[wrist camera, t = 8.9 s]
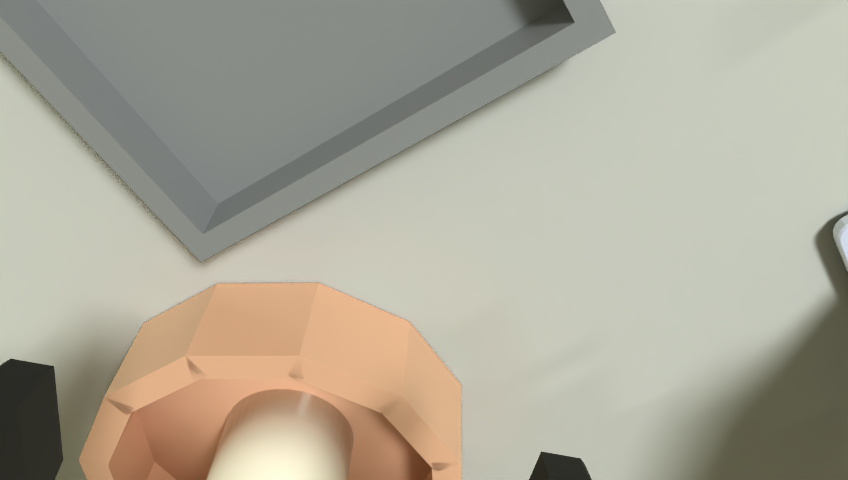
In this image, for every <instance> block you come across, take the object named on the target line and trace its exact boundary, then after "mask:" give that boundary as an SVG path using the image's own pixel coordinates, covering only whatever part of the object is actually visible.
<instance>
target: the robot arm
mask: <svg viewBox="0 0 848 480" xmlns="http://www.w3.org/2000/svg"><path fill="white" fill-rule="evenodd" d="M833 237H834V240H835V242H836V245H837V247H838V250H839V252H840V255H841V257H842V260H843V262H844V265H845V267H846V269H847V272H848V215H846V216H844V217H843V218H841V219H840V220H839V221H838V222H837V223H836V224H835V226H834V229H833ZM62 461H63V455H62V445H61V435H60V424H59V414H58V404H57V393H56V383H55V372H54V366H49V365H43V364H37V363H32V362H26V361H20V360H15V359H10V360H8V361H6V362H5V363H3V364H2V365H0V480H55V477H56V475H57V473H58V470H59V468H60V466H61V463H62ZM529 480H592V479H591V477H590V475H589V473H588V471H587V468H586V466H585V464H584V463H583V461H582V460H581V459H580V458H574V457H569V456H563V455H557V454H552V453H546V452H541V454H540V456H539V458H538V461H537V463H536V465H535V467H534V470H533V472H532V474H531V477H530V479H529Z"/></svg>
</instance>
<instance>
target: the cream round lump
mask: <svg viewBox="0 0 848 480" xmlns="http://www.w3.org/2000/svg"><path fill="white" fill-rule="evenodd" d="M353 440H354V437H353V431H352V428H351V426H350V424H349V422H348V420H347V419H346V417H345V416H344V415H343V414H342V413H341V412H340V411H339V410H338V409H337V408H336V407H335V406H333V405H332V404H330V403H329V402H327V401H326V400H324V399H322V398H320V397H317V396H315V395H312V394H309V393H306V392H302V391H297V390H290V389H271V390H265V391H260V392H257V393H253V394H251V395H249V396H247V397H245V398H243V399H242V400H240V401H239V402H238V403H237V404H236V405H235V406H234V407H233V408H232V409H231V411H230V413H229V414H228V417H227V420H226V423H225V426H224V429H223V432H222V435H221V438H220V441H219V444H218V447H217V450H216V453H215V456H214V459H213V462H212V465H211V468H210V471H209V473H208V476H207V479H206V480H348V475H349V469H350V462H351V456H352V449H353Z"/></svg>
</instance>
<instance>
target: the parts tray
mask: <svg viewBox="0 0 848 480" xmlns="http://www.w3.org/2000/svg"><path fill="white" fill-rule="evenodd" d="M614 33H616V32H615V30H614V28H613V26H612V24H611V22H610V20H609V18H608V16H607V14H606V12H605V10H604V8H603V6H602V4H601V2H600V0H0V52H1V53H2V54H3V55H4V56H5V57H6V58H7V59H8V60H9V61H10V63H11V64H12V65H13V66H14V67H15V68H16V69H17V70H18V71H19V72H20V73H21V74H22V75H23V76H24V77H25V78H26V79H27V80H28V81H29V82H30V84H31V85H32V86H33V87H34V88H35V89H36V90H37V91H38V92H39V93H40V94H41V95H42V96H43V97H44V98H45V99H46V100H47V101H48V102H49V103H50V105H51V106H52V107H53V108H54V109H55V110H56V111H57V112H58V113H59V114H60V115H61V116H62V117H63V118H64V119H65V120H66V121H67V122H68V123H69V125H70V126H71V127H72V128H73V129H74V130H75V131H76V132H77V133H78V134H79V135H80V136H81V137H82V138H83V139H84V140H85V141H86V142H87V143H88V144H89V146H90V147H91V148H92V149H93V150H94V151H95V152H96V153H97V154H98V155H99V156H100V157H101V158H102V159H103V160H104V161H105V162H106V163H107V164H108V165H109V167H110V168H111V169H112V170H113V171H114V172H115V173H116V174H117V175H118V176H119V177H120V178H121V179H122V180H123V181H124V182H125V183H126V184H127V185H128V187H129V188H130V189H131V190H132V191H133V192H134V193H135V194H136V195H137V196H138V197H139V198H140V199H141V200H142V201H143V202H144V203H145V204H146V205H147V206H148V208H149V209H150V210H151V211H152V212H153V213H154V214H155V215H156V216H157V217H158V218H159V219H160V220H161V221H162V222H163V223H164V224H165V225H166V226H167V227H168V229H169V230H170V231H171V232H172V233H173V234H174V235H175V236H176V237H177V238H178V239H179V240H180V241H181V242H182V243H183V244H184V245H185V246H186V247H187V249H188V250H189V251H190V252H191V253H192V254H193V255H194V256H195V257H196V258H197V259H198V260H199V261H200V262H202V261H204V260H206V259H207V258H209V257H211V256H213V255H215V254H216V253H218V252H220V251H222V250H224V249H225V248H227V247H229V246H231V245H233V244H235V243H236V242H238V241H240V240H242V239H244V238H245V237H247V236H249V235H251V234H253V233H254V232H256V231H258V230H260V229H262V228H263V227H265V226H267V225H269V224H271V223H272V222H274V221H276V220H278V219H280V218H282V217H283V216H285V215H287V214H289V213H291V212H292V211H294V210H296V209H298V208H300V207H301V206H303V205H305V204H307V203H309V202H310V201H312V200H314V199H316V198H318V197H319V196H321V195H323V194H325V193H327V192H328V191H330V190H332V189H334V188H336V187H338V186H339V185H341V184H343V183H345V182H347V181H348V180H350V179H352V178H354V177H356V176H357V175H359V174H361V173H363V172H365V171H366V170H368V169H370V168H372V167H374V166H375V165H377V164H379V163H381V162H383V161H385V160H386V159H388V158H390V157H392V156H394V155H395V154H397V153H399V152H401V151H403V150H404V149H406V148H408V147H410V146H412V145H413V144H415V143H417V142H419V141H421V140H422V139H424V138H426V137H428V136H430V135H431V134H433V133H435V132H437V131H439V130H441V129H442V128H444V127H446V126H448V125H450V124H451V123H453V122H455V121H457V120H459V119H460V118H462V117H464V116H466V115H468V114H469V113H471V112H473V111H475V110H477V109H478V108H480V107H482V106H484V105H486V104H488V103H489V102H491V101H493V100H495V99H497V98H498V97H500V96H502V95H504V94H506V93H507V92H509V91H511V90H513V89H515V88H516V87H518V86H520V85H522V84H524V83H525V82H527V81H529V80H531V79H533V78H534V77H536V76H538V75H540V74H542V73H544V72H545V71H547V70H549V69H551V68H553V67H554V66H556V65H558V64H560V63H562V62H563V61H565V60H567V59H569V58H571V57H572V56H574V55H576V54H578V53H580V52H581V51H583V50H585V49H587V48H589V47H591V46H592V45H594V44H596V43H598V42H600V41H601V40H603V39H605V38H607V37H609V36H610V35H612V34H614Z"/></svg>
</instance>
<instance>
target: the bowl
mask: <svg viewBox="0 0 848 480" xmlns="http://www.w3.org/2000/svg"><path fill="white" fill-rule="evenodd" d="M271 389H290V390H297V391H302V392H306V393H309V394H312V395H315V396H317V397H320V398H322V399H324V400H326V401H327V402H329V403H330V404H332V405H333V406H335V407H336V408H337V409H338V410H339V411H340V412H341V413H342V414H343V415H344V416H345V417H346V419H347V420H348V422H349V424H350V426H351V428H352V431H353V437H354V440H353V449H352V456H351V462H350V469H349V475H348V480H462V419H461V384H460V383H459V382H458V381H457V379H456V378H455V377H454V376H453V374H452V373H451V372H450V371H449V370H448V368H447V367H446V366H445V365H444V363H443V362H442V361H441V360H440V358H439V357H438V356H437V355H436V354H435V352H434V351H433V350H432V349H431V347H430V346H429V345H428V344H427V343H426V341H425V340H424V339H423V338H422V336H421V335H420V334H419V333H418V331H417V330H416V329H415V328H414V327H413V325H412V324H411V323H410V322H408V321H406V320H404V319H401V318H399V317H397V316H395V315H392V314H390V313H388V312H385V311H383V310H381V309H378V308H376V307H374V306H371V305H369V304H367V303H364V302H362V301H360V300H357V299H355V298H353V297H350V296H348V295H346V294H343V293H341V292H339V291H336V290H334V289H332V288H329V287H327V286H325V285H322V284H320V283H217V284H216V285H214V286H212V287H210V288H208V289H206V290H204V291H202V292H201V293H199V294H197V295H195V296H193V297H191V298H189V299H188V300H186V301H184V302H182V303H180V304H178V305H176V306H174V307H173V308H171V309H169V310H167V311H165V312H163V313H161V314H160V315H158V316H156V317H154V318H152V319H150V320H148V321H146V322H145V323H143V325H142V327H141V329H140V331H139V332H138V334H137V336H136V338H135V340H134V342H133V344H132V345H131V347H130V349H129V351H128V353H127V355H126V357H125V358H124V360H123V362H122V364H121V366H120V368H119V370H118V371H117V373H116V375H115V377H114V379H113V381H112V383H111V384H110V386H109V388H108V390H107V392H106V394H105V396H104V398H103V400H102V403H101V405H100V408H99V410H98V413H97V415H96V418H95V420H94V423H93V425H92V428H91V430H90V433H89V435H88V438H87V440H86V443H85V445H84V447H83V450H82V452H81V455H80V457H79V463H80V465H81V467H82V470H83V472H84V474H85V476H86V479H87V480H206V479H207V476H208V473H209V471H210V468H211V465H212V462H213V459H214V456H215V453H216V450H217V447H218V444H219V441H220V438H221V435H222V432H223V429H224V426H225V423H226V420H227V417H228V414H229V413H230V411H231V409H232V408H233V407H234V406H235V405H236V404H237V403H238V402H239V401H240V400H242V399H243V398H245V397H247V396H249V395H251V394H253V393H257V392H260V391H265V390H271Z"/></svg>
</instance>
